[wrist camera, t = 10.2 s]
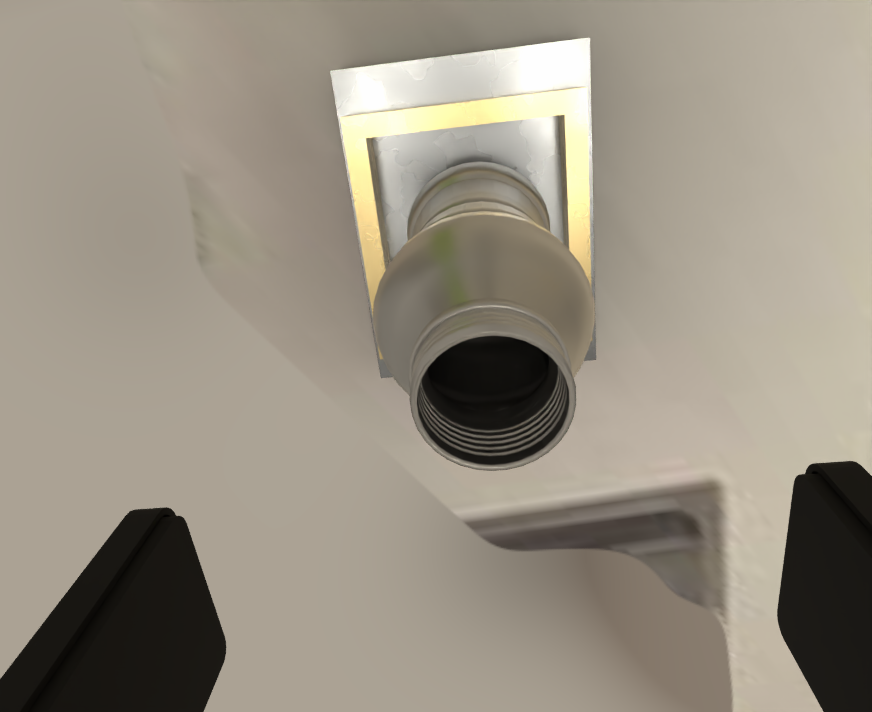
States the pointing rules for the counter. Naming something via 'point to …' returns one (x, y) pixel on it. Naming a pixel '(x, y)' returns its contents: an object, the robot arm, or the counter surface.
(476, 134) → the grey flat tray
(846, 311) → the counter surface
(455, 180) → the plastic bottle
